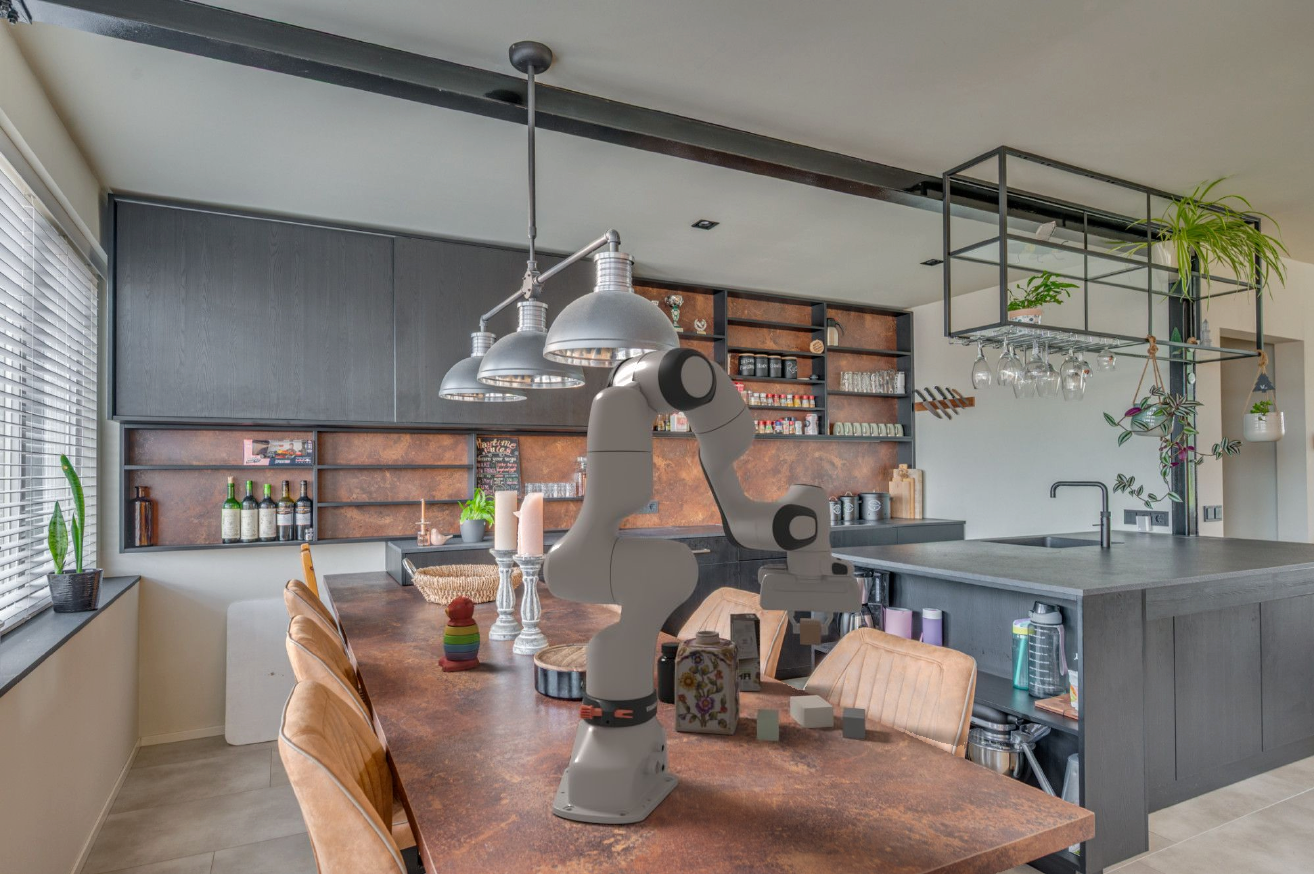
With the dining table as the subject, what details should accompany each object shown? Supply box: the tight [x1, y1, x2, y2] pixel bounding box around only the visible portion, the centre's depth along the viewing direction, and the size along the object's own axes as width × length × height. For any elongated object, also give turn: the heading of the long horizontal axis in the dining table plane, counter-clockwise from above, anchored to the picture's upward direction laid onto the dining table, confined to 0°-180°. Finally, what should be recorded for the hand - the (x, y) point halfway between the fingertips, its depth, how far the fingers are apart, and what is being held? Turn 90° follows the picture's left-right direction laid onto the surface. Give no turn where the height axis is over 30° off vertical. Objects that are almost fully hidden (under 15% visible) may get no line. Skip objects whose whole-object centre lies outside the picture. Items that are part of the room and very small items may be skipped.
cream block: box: [789, 694, 835, 729], centre depth 149 cm, size 8×6×4 cm
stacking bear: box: [437, 595, 481, 673], centre depth 194 cm, size 11×10×18 cm
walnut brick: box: [799, 617, 822, 646], centre depth 150 cm, size 6×4×4 cm, turn 168°
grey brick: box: [841, 706, 867, 741], centre depth 141 cm, size 6×4×4 cm, turn 163°
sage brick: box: [756, 708, 780, 742], centre depth 141 cm, size 6×4×4 cm, turn 171°
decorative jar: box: [674, 630, 741, 736], centre depth 148 cm, size 12×12×18 cm
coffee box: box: [729, 612, 761, 692], centre depth 174 cm, size 9×6×16 cm
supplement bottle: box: [656, 641, 681, 704], centre depth 164 cm, size 7×7×12 cm
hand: (810, 633), depth 150 cm, fingers closed on walnut brick, 4 cm apart
